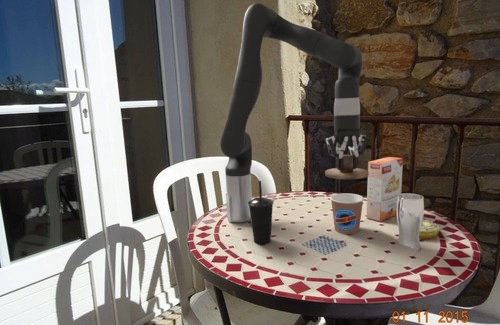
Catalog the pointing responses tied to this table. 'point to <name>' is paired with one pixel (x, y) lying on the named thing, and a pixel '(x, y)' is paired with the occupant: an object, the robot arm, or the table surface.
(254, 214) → the drinking cup
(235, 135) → the robot arm
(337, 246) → the woven mat
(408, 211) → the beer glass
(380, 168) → the cracker box
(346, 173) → the walnut lid
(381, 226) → the table surface
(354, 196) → the coffee cup
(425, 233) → the decorated donut
